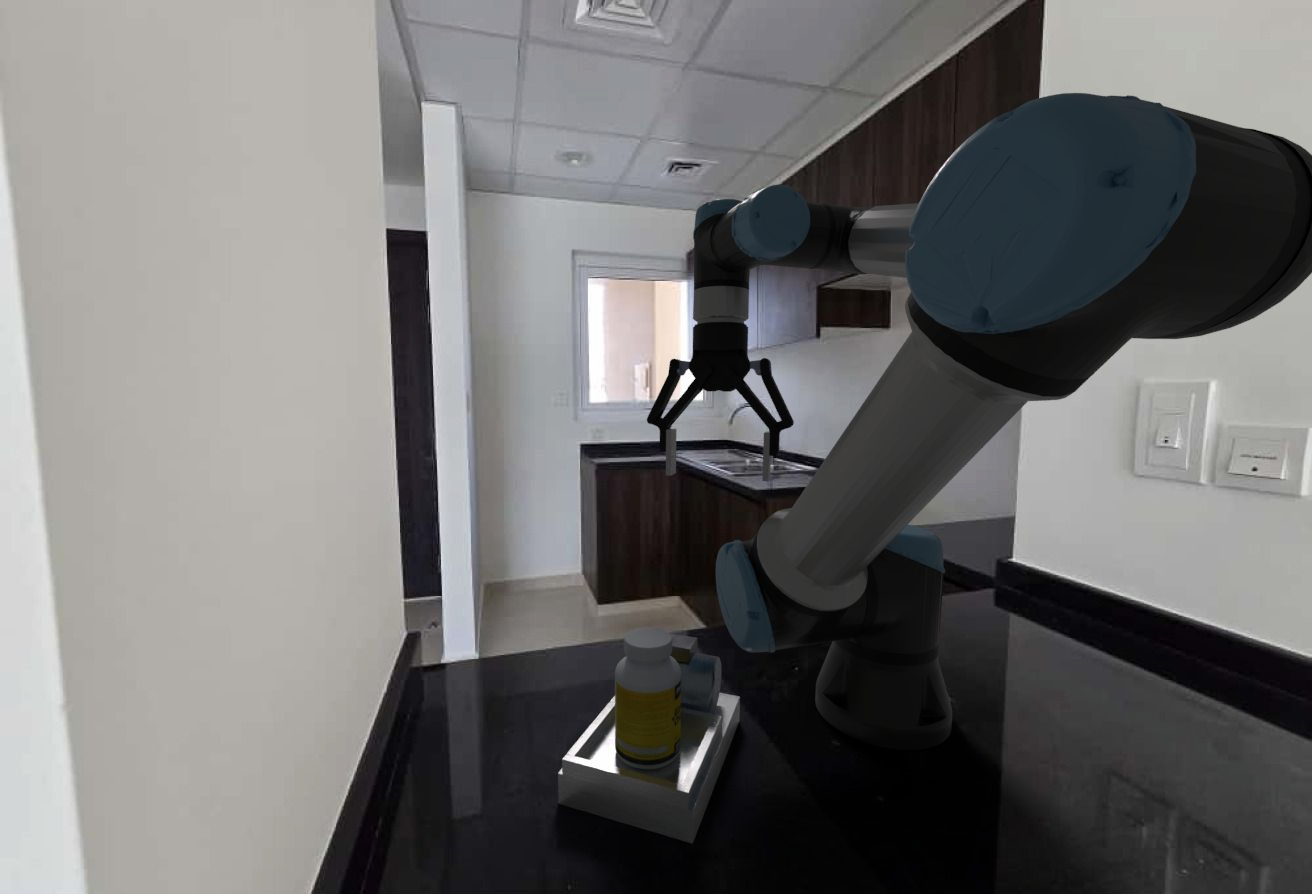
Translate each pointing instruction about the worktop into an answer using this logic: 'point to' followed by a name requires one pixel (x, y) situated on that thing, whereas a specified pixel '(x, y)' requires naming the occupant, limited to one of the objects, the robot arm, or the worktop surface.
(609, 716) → the motor base
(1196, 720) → the worktop surface
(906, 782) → the worktop surface
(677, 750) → the pill bottle
